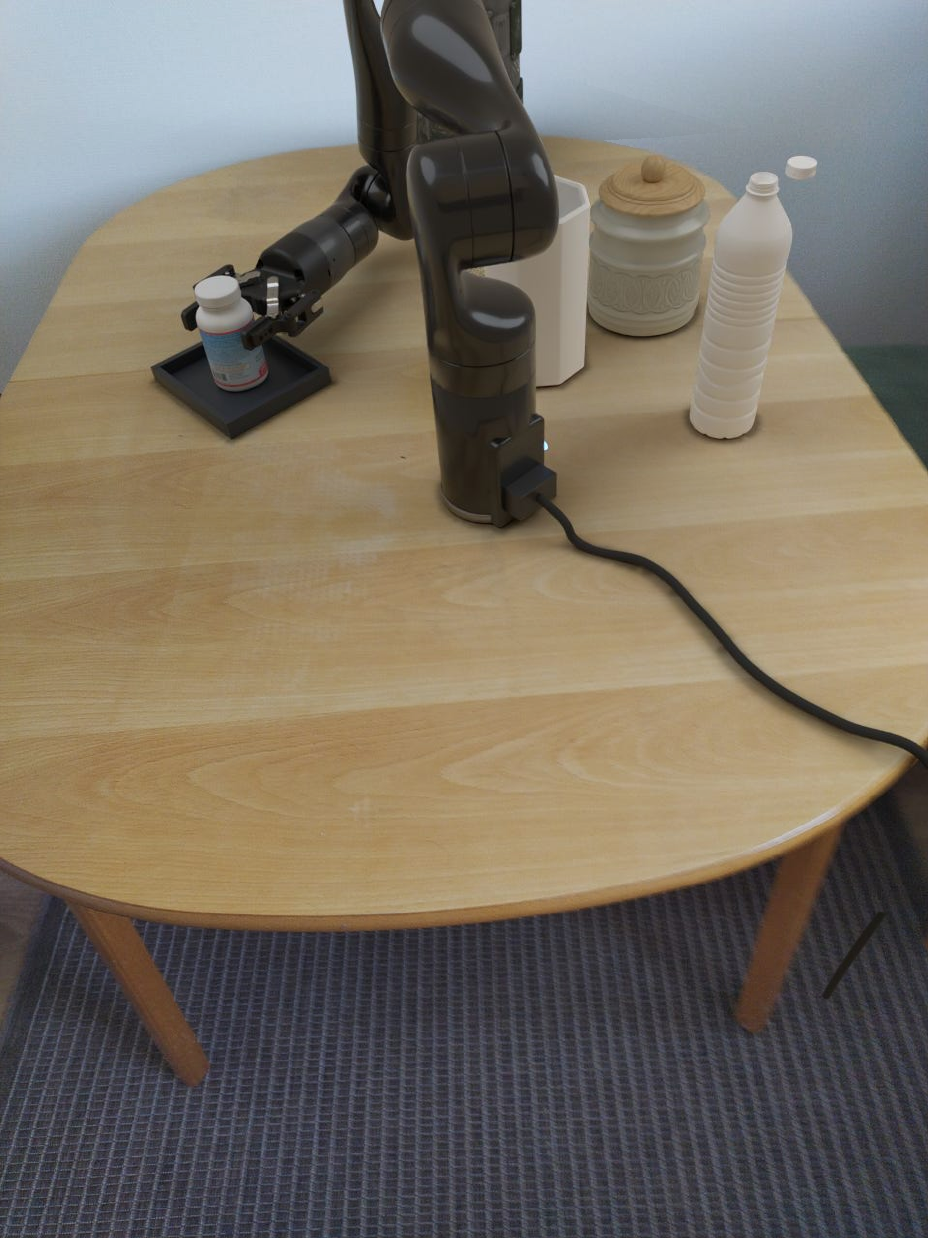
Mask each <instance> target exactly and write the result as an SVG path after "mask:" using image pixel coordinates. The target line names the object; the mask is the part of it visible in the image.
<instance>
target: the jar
mask: <svg viewBox="0 0 928 1238" xmlns="http://www.w3.org/2000/svg"><path fill="white" fill-rule="evenodd" d="M705 195H706V187H705V184H704V183H703V181H702V180H701V179H700V178H699V177H697V176H696V175H694V174H692V172H690V171H689V170H687V169H686V168H685V167H683V166H680V165H677V164H675V163H670V162H666V161H665V159H664V158H663V157H662V156H661V155H659V154H651V155H648V156H646V158H645V159H644V160H643V161H641V162H636V163H632V164H629V165H628V164H627V165H625V166H623V167H622V168H620V169H618V170H616V172H614V173H612V174H610V175H609V176H607V177H606V178H604V180H602V182H601V183H600V185H599V187H598V197H597V199H595V201H594V202H593V203H592V205H591V206H590V221H591V222H592V224H593V230H592V232H591V233H590V234H589V266H588V283H587V306H588V312H589V315H590V316H591V318H592V319H593V320H594V321H595V322H596V323H597V324H598V325H599V326H601V327H602V328H605V329H606V330H609V331H611V332H615V333H617V334H621V335H626V336H633V337H652V336H653V337H654V336H658V335H659V336H660V335H663V334H668V333H671V332H674V331H677V330H678V329H680V328H682V327H683V326H685V325H686V324H688V323H689V322H690V321H691V320H692V318H693V316H694V314H695V311H696V308H697V307H698V303H699V299H700V294H701V293H700V292H701V291H700V280H701V273H702V266H703V259H704V251H705V250H706V247H707V237H706V234H705V233H704V227H705V226H706V225H707V224H708V222H709V221H710V218H711V209H710V206H709V204H708V202H707V201H706V200H705V199H704V198H705V197H706V196H705Z"/></svg>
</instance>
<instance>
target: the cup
mask: <svg viewBox="0 0 928 1238" xmlns="http://www.w3.org/2000/svg"><path fill="white" fill-rule="evenodd" d="M554 177H555V182H556V186H557V192H558V201H559V223H558V229H557V233H556V236H555V238H554V241H553V243H552V244H551V245H550V247H549V248H548V249H547V250H546V251H545V252H543V253H542V254H540V255H537V256H535V257H532V258H529V259H526V260H522V261H517V262H512V263H506V264H499V265H493V266H486V267H483V270H484V271H483V273H484V275H483V276H484V277H488V278H493V279H498V280H501V281H505V282H507V283H510V284H512V285H514V286H516V287H518V288H520V289H521V290H522V291H524V292H525V293H526V294H527V295H528V296H529V298H530V299H531V301H532V302H533V305H534V308H535V314H536V387H547V386H558V385H561V384H563V383H564V382H565V381H566V380H568V379H569V378H571V377H572V376H574V375H576V373H578V372H579V371H580V370H581V369H583V368H584V366H585V354H586V353H585V351H586V330H587V329H586V328H587V327H586V325H587V324H586V323H587V304H588V302H587V287H588V279H589V253H590V247H589V238H590V224H591V217H590V209H591V203H590V200H589V196H588V192H587V189H586V186H585V185H584V184H582V183H579V182H577V181H574V180H571V179H568V178H564V177H562V176H560V175H559V176H558V175H555V174H554Z"/></svg>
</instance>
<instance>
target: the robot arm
mask: <svg viewBox="0 0 928 1238" xmlns="http://www.w3.org/2000/svg"><path fill="white" fill-rule="evenodd" d="M342 8H343V13H344V20H345V27H346V33H347V39H348V45H349V51H350V57H351V63H352V69H353V77H354V87H355V107H356V108H355V109H356V132H357V135H356V136H357V146H358V147H357V149H358V151H359V154H360V156H361V158H362V160H363V161H365V163H366V164H364V165H361V166H359V167H357V168H356V169H355V170H354V171H353V172H352V174H351V175H350V177H349V178H348V180H347V181H346V183H345V184H344V187H343V188H342V190H341V191H340V192H339V193H338V195H337V196H336V198H335V199H334V201H333V202H332V204H331V205H330V206H328V207H326V208H325V209H324V210H322V211H321V212H320V213H319V214H317V215H316V216H314V217H313V218H311V219H309V220H307V221H304V222H302V223H301V224H299V225H297V226H296V227H295V228H293V229H292V230H290V231H289V232H287V233H286V234H285V235H284V236H282V237H281V238H279V239H278V240H276V241H274V243H272V244H271V245H269V246H268V247H266V248H265V249H263V250H262V251H261V253H260V254H259V257H258V260H257V263H256V264H255V267H254V268H253V269H251V270H248V271H246V272H243V273H242V274H241V273H238V272H236V271H235V267H234V265H233V264H229V263H228V264H225V265H223V266H222V267H219V268H218V269H217V270H215V271H214V272H211V274H209V275H207V276H206V277H204V278H203V279H201V280H200V281H198V282H197V283H195V284H193V285H192V290H193V293H194V296H195V297H196V295H195V287H196V285H197V284H198V283H200V282H201V281H203V280H205V279H207V278H210V277H214V276H229V277H232V278H234V279H236V280H237V282H238V284H239V288H240V290H241V298H243V299H245V300H246V301H247V302H248V303H249V304H250V306H251V308H252V311H253V313H255V314H256V315H258V316H259V317H258V318H257V319H255V321H254V322H253V323H252V324H250V325H249V326H248V327H246V328H245V329H244V330H243V331H242V332H241V340H242V344H243V347H244V349H246V350H249V351H252V350H254V349H255V348H256V347H259V346H261V345H262V344H263V343H265V342H266V341H267V340H268V339H270V338H271V337H272V336H279V337H280V336H281V335H283V333H284V334H287V336H288V337H289V338H296V337H298V336H300V334H302V332H304V331H305V330H306V329H307V328H308V327H309V326H311V324H312V323H314V322H315V321H316V320H317V319H319V317H321V315H323V314H324V312H325V311H324V304H323V299H322V296H323V295H324V294H326V293H327V292H328V291H329V290H330V289H332V288H334V286H336V285H337V284H338V283H339V282H341V280H343V278H345V276H346V275H347V274H348V273H349V272H350V271H351V270H352V269H354V268H355V267H356V266H357V265H359V264H360V263H361V262H363V260H365V259H366V258H367V257H369V256H370V255H371V254H372V253H373V252H374V251H375V249H376V248H377V245H378V243H379V238H380V237H379V236H380V235H379V234H380V233H379V232H381V233H383V234H385V235H387V236H389V237H391V238H393V239H395V240H399V241H404V242H406V241H411V240H414V246H415V253H416V257H417V265H418V271H419V278H420V287H421V296H422V297H421V298H422V305H423V307H422V308H423V315H424V317H423V318H424V326H425V338H426V347H427V349H426V350H427V358H428V367H429V379H430V388H431V398H432V407H433V408H432V409H433V417H434V426H435V435H436V437H435V438H436V446H437V454H438V464H439V469H440V470H439V473H440V492H441V498H442V501H443V503H444V505H445V507H447V509H448V510H449V511H450V512H451V513H452V514H454V515H456V516H457V517H459V518H461V519H464V520H467V521H470V522H475V523H481V524H482V523H483V524H493V525H494V526H496V527H497V528H503V527H505V526H506V525H507V524H509V523H510V522H512V521H513V520H514V519H517V520H519V521H520V522H523V521H524V520H526V519H527V518H528V517H530V516H531V515H533V514H534V513H536V512H537V511H538V510H539V509H541V508H543V509H545V510H546V511H547V512H548V513H549V514H550V515H551V516H552V517H553V518H554V519H555V520H556V521H557V522H558V523H559V524H560V526H561V528H563V530H564V533H565V536H566V538H567V540H568V541H569V543H571V544H572V545H574V546H575V547H576V548H577V549H579V550H581V551H582V552H584V553H587V554H589V555H593V556H597V557H601V558H604V559H610V560H614V561H620V562H627V563H630V564H635V565H636V566H639V567H642V568H644V569H645V570H647V571H649V572H650V573H653V574H654V575H656V576H657V577H658V578H660V579H661V580H662V581H663V582H665V584H667V585H668V586H669V587H670V588H671V589H672V590H673V591H674V592H675V593H676V595H678V597H679V598H680V599H681V600H682V601H683V603H684V604H685V605H686V606H687V607H688V608H689V609H690V610H691V611H692V612H693V613H694V615H695V616H696V617H697V618H698V619H699V620H700V621H701V622H702V623H703V624H704V625H705V626H706V627H707V628H708V630H709V631H710V632H711V633H712V635H714V637H715V638H716V639H717V640H718V642H719V643H720V644H721V646H722V647H723V648H724V649H725V650H726V652H727V653H728V654H729V655H730V657H732V659H733V660H734V661H735V662H736V663H737V664H738V665H739V667H741V668H742V669H743V670H744V671H745V672H746V673H747V674H749V675H750V676H751V677H752V678H753V679H754V680H755V681H757V682H758V683H759V684H761V685H762V686H763V687H765V688H766V689H768V690H769V691H771V692H772V694H775V695H776V696H777V697H779V698H781V699H782V700H784V701H786V702H787V703H788V704H790V705H792V706H794V707H796V708H797V709H799V710H801V711H803V712H805V713H806V714H809V715H811V716H813V717H814V718H817V719H819V720H821V721H823V722H825V723H826V724H828V725H831V726H833V727H835V728H837V729H839V730H841V731H843V732H846V733H848V734H850V735H854V736H858V737H861V738H864V739H869V740H872V741H876V742H880V743H884V744H887V745H891V746H894V747H897V748H900V749H902V750H903V751H906V752H907V753H909V754H911V755H913V756H914V757H915V758H916V759H917V760H918V761H919V762H920V763H921V764H922V765H923V767H924V768H925V769H926V770H928V751H927V750H926V749H925V748H924V747H923V746H921V745H920V744H919V743H917V742H915V741H913V740H911V739H910V738H907V737H904V736H902V735H900V734H897V733H894V732H889V731H885V730H882V729H878V728H874V727H869V726H866V725H862V724H858V723H855V722H852V721H850V720H848V719H845V718H843V717H841V716H839V715H837V714H835V713H833V712H831V711H829V710H827V709H825V708H823V707H821V706H819V705H817V704H815V703H813V702H811V701H809V700H807V699H806V698H804V697H802V696H800V695H799V694H797V693H795V692H793V691H791V690H790V689H788V688H787V687H786V686H784V685H782V684H780V683H779V681H777V680H775V679H773V678H772V677H771V676H770V675H768V674H767V673H766V672H765V671H763V670H762V669H760V668H759V667H758V666H757V665H756V664H755V663H753V662H752V661H751V660H750V659H749V658H748V657H747V656H746V654H744V653H743V651H741V649H740V648H739V647H738V646H737V645H736V644H735V642H734V641H733V639H731V637H730V636H729V635H728V634H727V632H726V631H725V630H724V629H723V628H722V626H721V625H720V624H719V622H717V621H716V619H714V617H713V616H712V615H710V613H709V612H708V611H707V610H706V609H705V608H704V607H703V606H702V605H701V604H700V603H699V602H698V601H697V600H696V599H695V598H694V596H693V595H692V594H691V593H690V592H689V590H688V589H686V587H685V586H684V585H683V584H682V583H681V582H680V581H679V580H678V579H677V578H676V577H675V576H674V575H673V574H672V573H670V572H669V571H668V570H667V569H665V568H664V567H663V566H661V565H660V564H658V563H656V562H654V560H652V559H649V558H646V557H645V556H642V555H639V554H635V553H632V552H627V551H622V550H614V549H608V548H604V547H600V546H596V545H594V544H591V543H589V542H587V541H585V540H584V539H582V538H581V537H580V536H578V535H577V533H576V532H575V529H574V526H573V524H572V522H571V521H570V520H569V518H568V517H567V516H566V515H565V513H563V511H562V510H560V508H558V507H557V506H556V505H555V504H554V503H553V502H552V500H553V499H554V498H556V497H557V492H558V491H557V487H558V485H557V483H558V479H557V478H558V473H557V472H556V471H554V470H552V469H551V468H549V467H547V466H546V465H545V451H546V450H548V448H549V447H548V444H547V442H546V441H545V433H546V432H545V428H546V427H545V421H546V420H545V417H543V416H542V415H541V414H539V413H537V386H536V314H535V308H534V305H533V302H532V301H531V299H530V298H529V296H528V295H527V294H526V293H525V292H524V291H522V290H521V289H520V288H518V287H516V286H514V285H512V284H510V283H507V282H505V281H501V280H498V279H493V278H488V277H485V275H479V274H477V273H474V272H471V271H468V270H473V269H479V268H484V267H486V266H493V265H499V264H506V263H512V262H517V261H522V260H526V259H529V258H532V257H535V256H537V255H540V254H542V253H543V252H545V251H546V250H547V249H548V248H549V247H550V245H551V244H552V243H553V241H554V238H555V236H556V233H557V229H558V223H559V201H558V192H557V186H556V182H555V177H554V175H555V174H554V171H553V167H552V164H551V160H550V158H549V155H548V152H547V150H546V147H545V145H544V142H543V141H542V139H541V137H540V135H539V132H538V131H537V130H538V129H537V128H536V127H535V125H534V123H533V121H532V119H531V117H530V115H529V114H528V112H527V109H526V108H525V106H524V103H523V104H522V102H521V100H520V99H519V97H518V95H517V93H516V91H515V89H514V88H513V86H512V84H511V81H510V79H509V77H508V74H507V72H506V69H505V67H504V64H503V61H502V58H501V55H500V52H499V49H498V46H497V43H496V40H495V36H494V33H493V29H492V26H491V24H490V21H489V18H488V15H487V13H486V10H485V7H484V4H483V2H482V0H383V2H382V6H381V10H380V14H379V12H378V9H377V6H376V3H375V1H374V0H342ZM418 112H419V113H420V114H422V115H423V116H424V117H426V118H427V119H429V120H430V121H432V122H433V123H435V124H436V125H438V126H439V127H441V128H443V129H445V130H446V131H448V132H450V133H452V134H453V135H455V136H449V137H443V138H436V139H430V140H425V141H422V142H419V143H418V144H417V135H418ZM199 307H200V306H199V304H198V302H197V300H196V299H195V300H194V301H193V302H192V303H191V304H189V305H188V306H187V307H185V308H183V310H181V312H180V319H181V321H182V325H183V328H184V329H185V330H186V331H190V332H194V331H196V329H198V325H197V322H196V313H197V310H198V308H199ZM887 915H888V913H886V912H884V911H878V912H877V913H876V914H875V915H874V917H873V918H872V919H871V920H870V922H869V923H868V924H867V926H866V927H865V928H864V929H863V930H862V932H861V933H860V935H859V936H858V937H857V938H856V940H855V942H853V945H852V946H851V948H850V949H849V950H848V952H847V953H846V955H845V956H844V957H843V959H842V961H840V963H839V965H838V967H837V969H836V970H835V972H834V973H833V975H832V977H831V978H830V979H829V982H828V983H827V984H826V986H825V989H824V990H823V992H822V993H821V997H822V998H823V999H824V1000H830V999H831V997H832V995H833V993H834V992H835V990H836V989H837V987H838V986H839V984H840V982H841V981H842V979H843V977H844V976H845V975H846V973H847V972H848V971H849V969H850V967H851V966H852V964H853V963H854V961H855V960H856V959H857V958H858V956H859V954H860V953H861V952H862V951H863V949H864V948H865V947H866V945H867V944H868V943H869V941H870V939H871V938H872V937H873V935H874V934H875V933H876V931H877V930H878V928H879V926H880V925H882V923H883V921H884V920H885V918H886V917H887Z"/></svg>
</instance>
